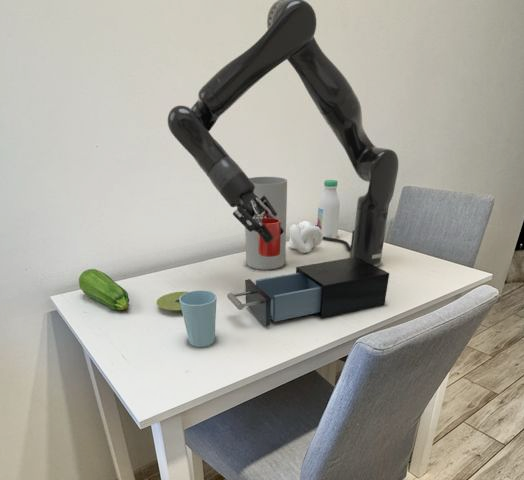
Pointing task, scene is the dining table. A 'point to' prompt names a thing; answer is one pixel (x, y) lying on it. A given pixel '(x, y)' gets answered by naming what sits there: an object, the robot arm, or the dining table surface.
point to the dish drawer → (280, 297)
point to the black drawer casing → (347, 285)
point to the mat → (170, 301)
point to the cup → (199, 316)
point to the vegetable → (103, 289)
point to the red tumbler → (274, 244)
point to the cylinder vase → (277, 197)
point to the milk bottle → (329, 210)
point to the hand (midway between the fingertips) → (275, 237)
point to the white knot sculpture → (305, 236)
